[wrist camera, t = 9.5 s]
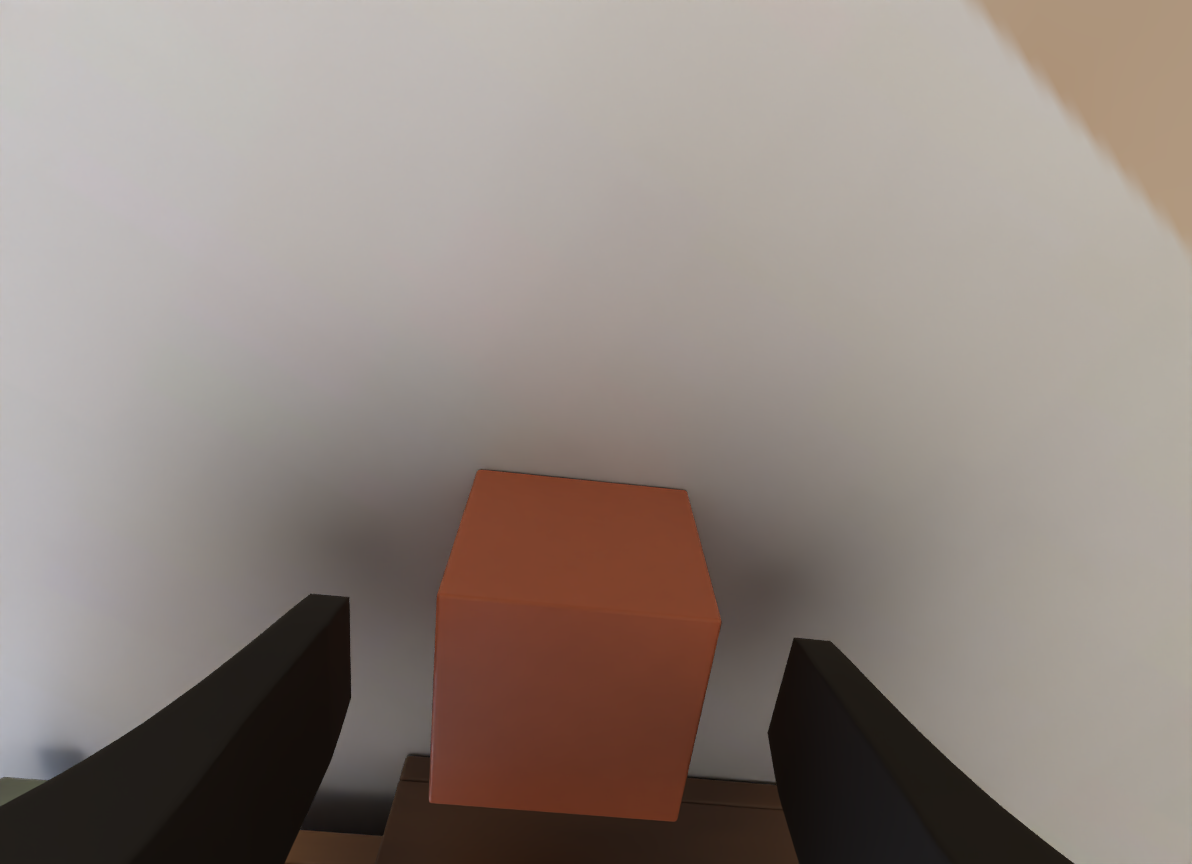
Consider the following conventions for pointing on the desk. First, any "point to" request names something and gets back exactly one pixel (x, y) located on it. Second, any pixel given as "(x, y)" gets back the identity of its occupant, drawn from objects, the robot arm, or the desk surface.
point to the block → (571, 649)
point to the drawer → (314, 856)
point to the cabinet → (587, 830)
